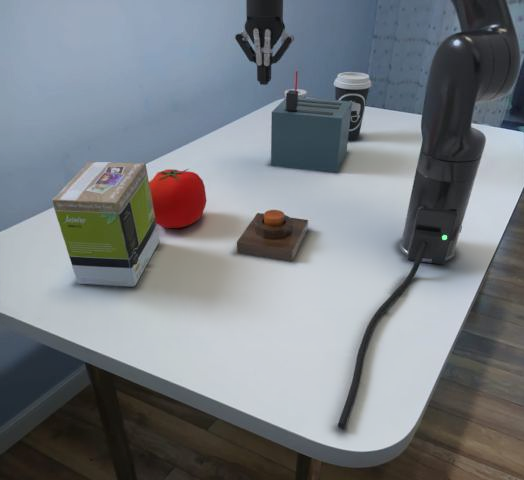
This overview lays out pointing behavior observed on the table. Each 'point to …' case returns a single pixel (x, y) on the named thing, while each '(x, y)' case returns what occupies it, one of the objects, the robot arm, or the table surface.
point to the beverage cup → (300, 92)
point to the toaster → (310, 134)
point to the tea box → (108, 223)
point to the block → (273, 238)
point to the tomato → (177, 198)
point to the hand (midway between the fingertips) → (264, 83)
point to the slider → (291, 100)
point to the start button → (274, 218)
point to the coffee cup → (353, 97)
